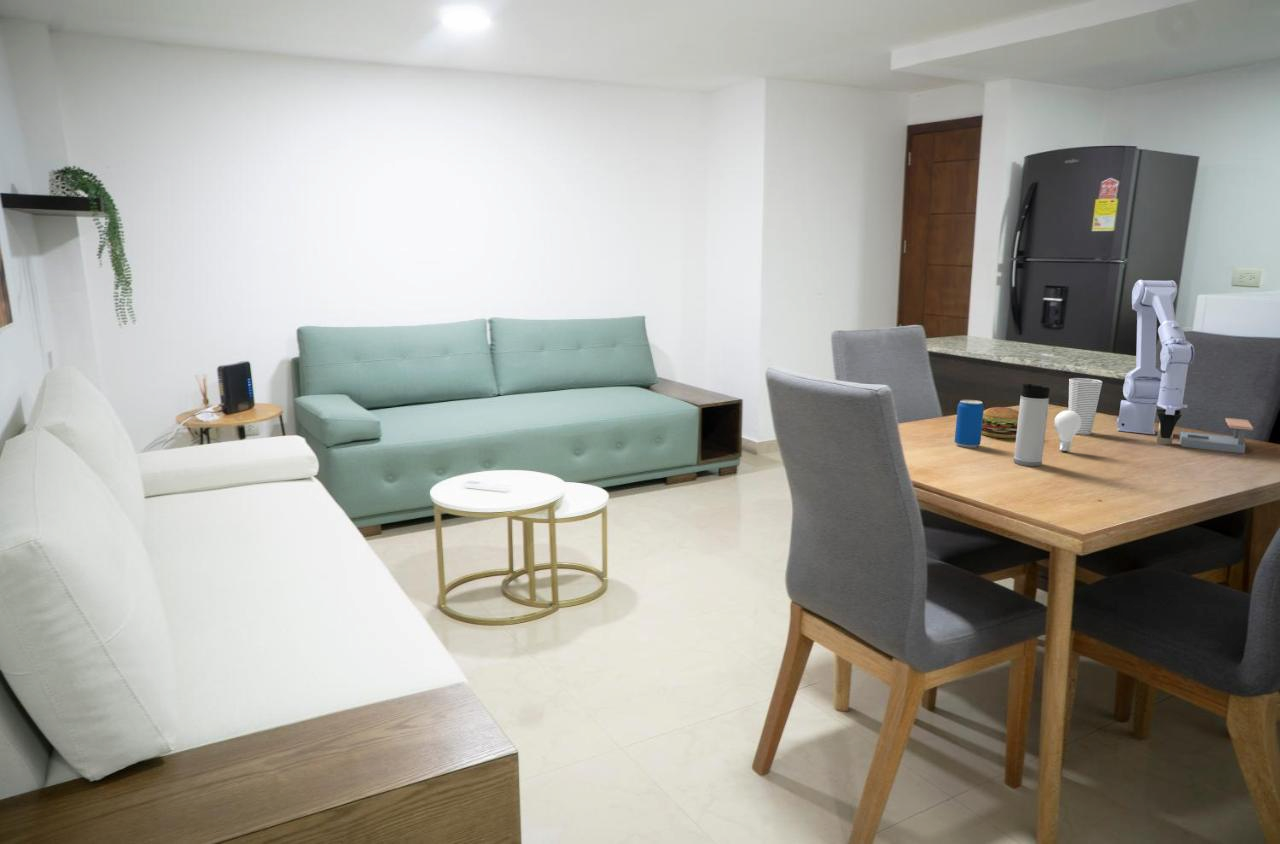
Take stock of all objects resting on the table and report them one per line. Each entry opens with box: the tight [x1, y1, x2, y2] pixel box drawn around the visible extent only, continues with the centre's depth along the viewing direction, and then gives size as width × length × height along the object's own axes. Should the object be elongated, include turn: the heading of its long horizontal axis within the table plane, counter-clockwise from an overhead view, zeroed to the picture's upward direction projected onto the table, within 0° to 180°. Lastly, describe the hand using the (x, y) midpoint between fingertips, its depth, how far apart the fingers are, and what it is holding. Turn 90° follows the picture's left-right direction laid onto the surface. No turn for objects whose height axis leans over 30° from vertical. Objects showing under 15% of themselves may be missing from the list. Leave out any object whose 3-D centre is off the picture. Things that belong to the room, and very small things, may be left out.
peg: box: [1156, 421, 1175, 446], centre depth 229 cm, size 4×4×8 cm
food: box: [981, 406, 1019, 440], centre depth 236 cm, size 14×14×8 cm
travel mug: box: [1013, 382, 1051, 467], centre depth 202 cm, size 6×7×20 cm
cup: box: [1067, 377, 1103, 436], centre depth 241 cm, size 8×8×16 cm
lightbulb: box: [1053, 409, 1082, 453], centre depth 217 cm, size 6×6×11 cm
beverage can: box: [954, 399, 985, 449], centre depth 222 cm, size 6×6×12 cm
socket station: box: [1178, 417, 1254, 454], centre depth 227 cm, size 15×13×7 cm
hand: (1165, 436), depth 229 cm, fingers closed on peg, 4 cm apart
